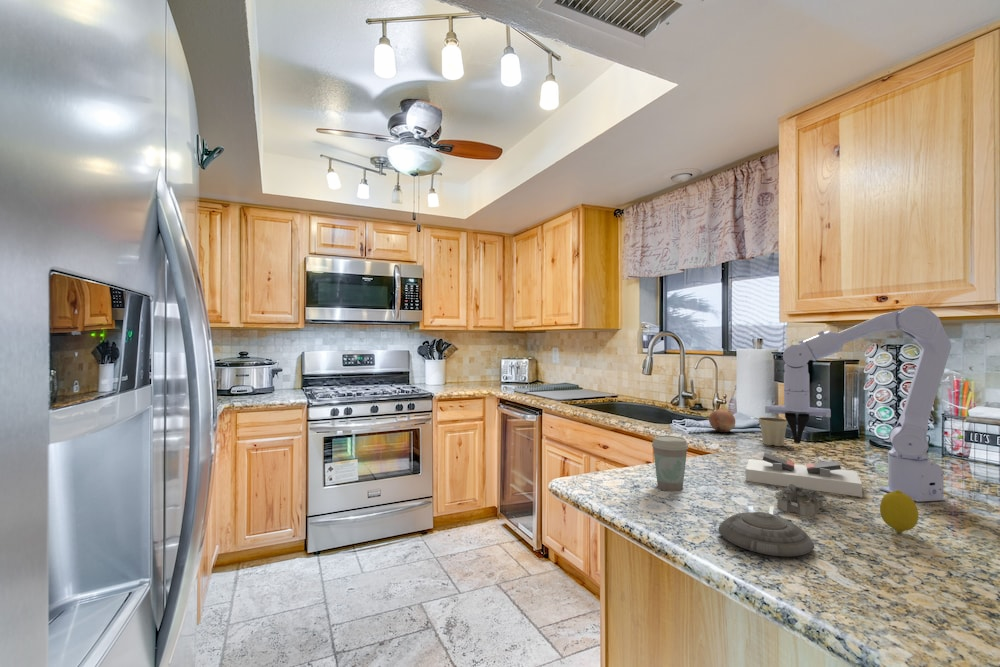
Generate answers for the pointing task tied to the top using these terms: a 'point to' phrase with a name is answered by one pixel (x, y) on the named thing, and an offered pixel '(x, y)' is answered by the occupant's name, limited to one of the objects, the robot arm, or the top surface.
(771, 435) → the flower pot
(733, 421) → the onion
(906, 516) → the lemon
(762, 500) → the top surface
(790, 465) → the breaker far
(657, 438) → the coffee cup
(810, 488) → the breaker panel
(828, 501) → the top surface
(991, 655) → the top surface
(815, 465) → the breaker near
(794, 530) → the flying saucer
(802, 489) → the grey stone ruin model
